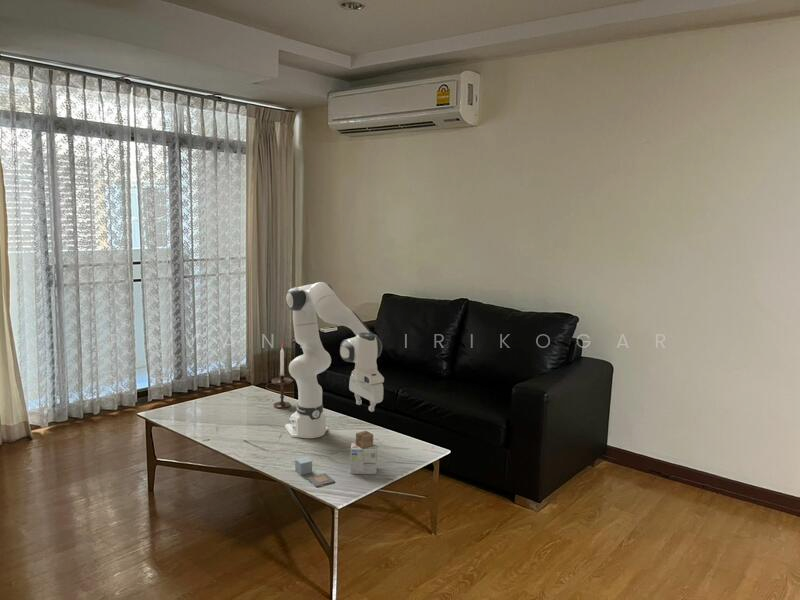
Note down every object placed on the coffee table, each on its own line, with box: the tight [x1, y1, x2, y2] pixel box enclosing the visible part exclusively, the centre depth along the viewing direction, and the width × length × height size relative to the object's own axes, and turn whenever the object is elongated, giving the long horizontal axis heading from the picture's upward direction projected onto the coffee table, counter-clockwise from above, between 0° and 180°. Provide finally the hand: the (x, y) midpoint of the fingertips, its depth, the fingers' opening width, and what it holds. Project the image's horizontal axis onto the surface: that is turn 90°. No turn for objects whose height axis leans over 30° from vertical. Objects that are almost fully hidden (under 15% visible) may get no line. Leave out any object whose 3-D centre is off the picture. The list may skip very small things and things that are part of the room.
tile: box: [306, 472, 336, 488], centre depth 227 cm, size 8×8×1 cm
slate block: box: [294, 456, 313, 476], centre depth 234 cm, size 5×5×5 cm
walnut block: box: [355, 430, 374, 449], centre depth 235 cm, size 5×5×5 cm
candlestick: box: [271, 342, 293, 410], centre depth 310 cm, size 11×11×35 cm
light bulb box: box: [350, 442, 378, 475], centre depth 236 cm, size 11×7×11 cm, turn 93°
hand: (365, 407), depth 233 cm, fingers open, 8 cm apart
